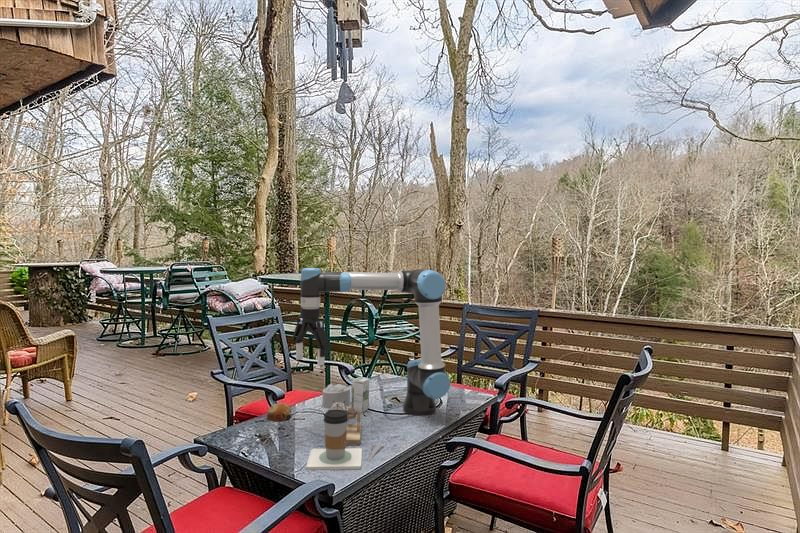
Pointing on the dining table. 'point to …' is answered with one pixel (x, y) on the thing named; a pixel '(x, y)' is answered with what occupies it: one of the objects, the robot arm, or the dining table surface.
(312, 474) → the dining table surface
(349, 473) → the dining table surface
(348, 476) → the dining table surface
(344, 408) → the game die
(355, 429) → the toy catapult
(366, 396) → the syrup box
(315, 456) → the board
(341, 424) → the coffee cup
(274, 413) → the brown rounded lump
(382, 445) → the tweezers
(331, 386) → the lumpy-topped squat cylinder
